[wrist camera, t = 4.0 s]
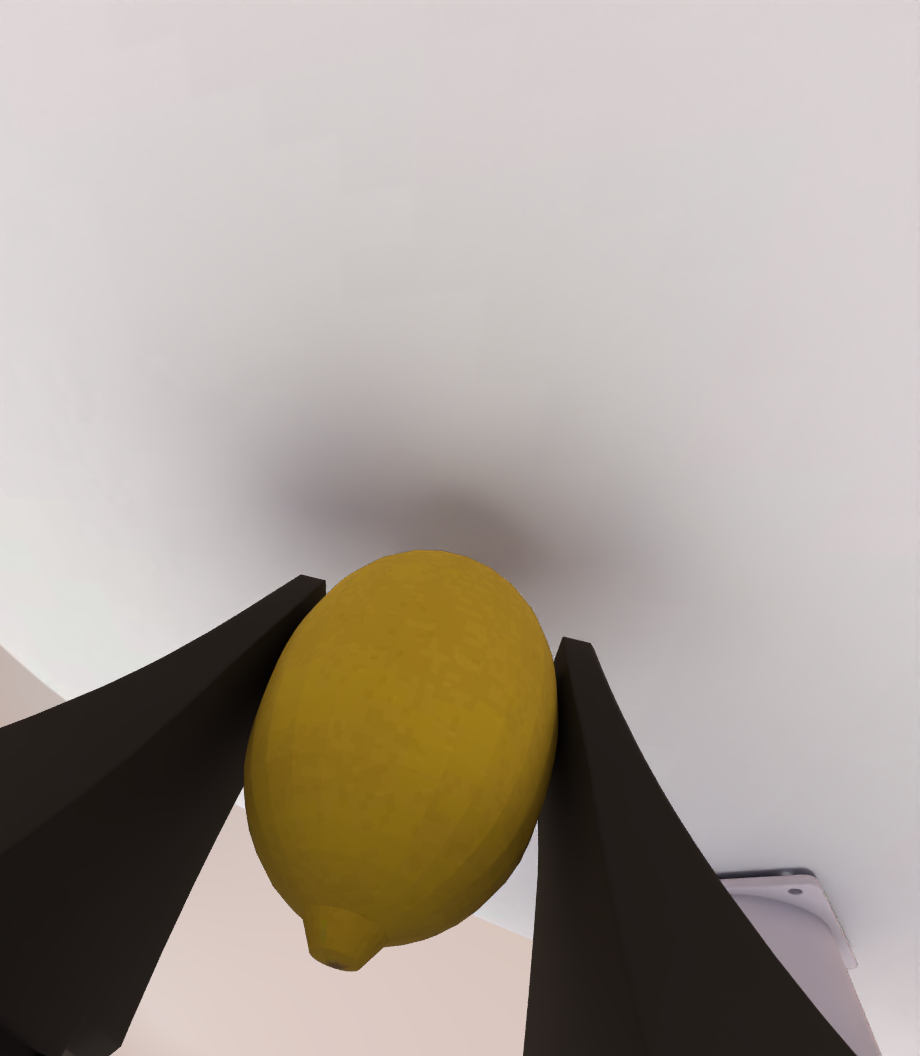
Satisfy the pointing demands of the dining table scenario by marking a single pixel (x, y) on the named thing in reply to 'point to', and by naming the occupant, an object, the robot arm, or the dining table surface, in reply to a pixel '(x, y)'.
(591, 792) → the robot arm
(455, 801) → the lemon
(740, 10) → the dining table surface
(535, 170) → the dining table surface
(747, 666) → the dining table surface
